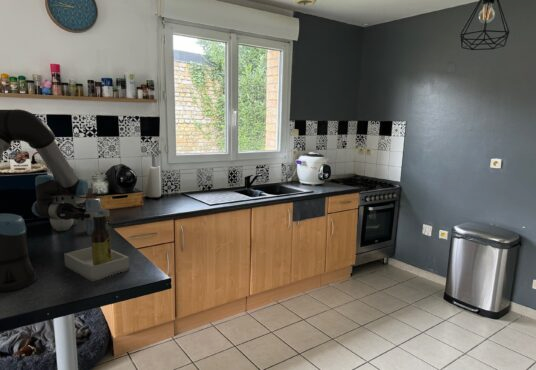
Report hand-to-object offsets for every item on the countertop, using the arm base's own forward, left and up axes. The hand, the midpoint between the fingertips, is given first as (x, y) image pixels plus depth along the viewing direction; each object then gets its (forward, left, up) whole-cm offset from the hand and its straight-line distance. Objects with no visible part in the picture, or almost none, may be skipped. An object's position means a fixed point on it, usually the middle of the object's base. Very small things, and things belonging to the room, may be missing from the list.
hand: (102, 214), depth 162 cm
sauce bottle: (-24, -15, -14) cm, 32 cm away
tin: (+1, +5, -9) cm, 10 cm away
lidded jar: (+22, +39, -15) cm, 47 cm away
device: (+35, +46, -15) cm, 60 cm away
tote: (-22, -11, -15) cm, 28 cm away
